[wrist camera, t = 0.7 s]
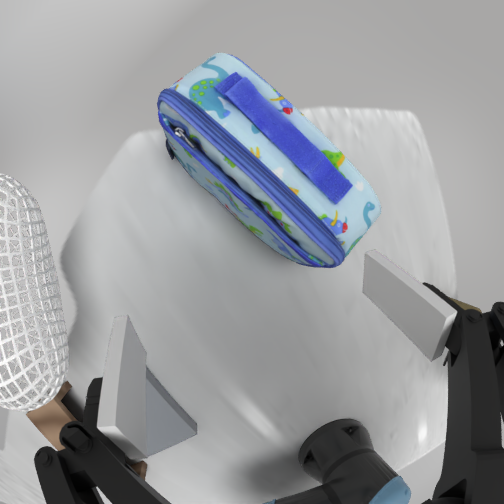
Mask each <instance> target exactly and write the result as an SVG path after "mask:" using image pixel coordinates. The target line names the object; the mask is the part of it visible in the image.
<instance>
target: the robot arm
mask: <svg viewBox="0 0 504 504" xmlns="http://www.w3.org/2000/svg"><path fill="white" fill-rule="evenodd" d="M363 293H364V294H365V295H366V296H367V297H368V298H369V299H370V300H371V301H372V302H373V303H374V304H375V305H376V306H377V307H378V308H379V309H380V310H381V311H382V312H383V313H384V314H385V315H386V316H387V317H388V318H389V319H390V320H391V321H392V322H393V323H394V324H395V325H396V326H397V327H398V328H399V329H400V330H401V331H402V332H403V333H404V334H405V335H406V336H407V337H408V338H409V339H410V340H411V341H412V342H413V343H414V344H415V345H416V346H417V347H418V348H419V349H420V351H421V352H422V353H423V354H424V355H425V356H426V357H427V358H428V359H429V360H430V361H431V362H432V361H433V360H435V359H436V358H438V357H439V356H441V355H442V353H443V350H444V348H445V346H446V347H447V348H448V349H449V351H448V353H447V356H446V358H445V361H444V363H443V366H445V365H446V362H447V361H448V417H447V432H446V443H445V452H444V460H443V468H442V474H441V477H440V480H439V481H438V483H437V485H436V487H435V490H434V494H433V498H432V500H430V499H428V500H427V501H425V502H423V503H422V504H504V448H503V447H502V441H501V440H502V439H501V437H502V436H501V415H502V419H503V422H504V345H503V347H502V346H501V344H500V342H501V340H502V341H503V343H504V302H496V303H494V305H493V307H492V309H491V311H490V312H486V313H481V312H480V311H478V310H475V309H467V310H464V309H463V308H461V307H460V306H459V305H458V304H456V303H455V302H454V301H453V300H451V299H450V298H449V297H448V296H446V295H445V294H444V293H442V292H440V290H438V289H437V288H436V287H435V286H433V285H430V284H428V283H425V282H424V283H421V282H420V281H418V280H417V279H416V278H414V277H413V276H412V275H410V274H409V273H408V272H406V271H405V270H404V269H402V268H401V267H399V266H398V265H397V264H395V263H394V262H393V261H391V260H390V259H388V258H387V257H386V256H384V255H383V254H381V253H380V252H379V251H377V250H376V249H374V250H371V251H368V252H365V261H364V279H363ZM500 412H501V413H500ZM59 440H60V443H61V445H63V446H64V447H65V449H63V450H60V451H55V450H54V449H53V448H52V447H48V446H45V447H42V448H40V449H39V450H38V451H37V453H36V454H35V458H34V462H35V467H36V471H37V475H38V478H39V482H40V485H41V488H42V491H43V494H44V497H45V500H46V503H47V504H104V502H103V500H102V499H101V497H100V495H99V493H98V491H97V489H96V487H97V486H98V488H99V489H100V490H101V491H102V492H103V494H104V495H105V496H106V497H107V498H108V499H109V500H110V502H111V503H112V504H171V503H170V502H169V501H167V500H166V499H165V498H164V497H163V496H161V495H160V494H159V493H158V492H157V491H156V490H155V489H153V488H152V487H151V486H150V485H149V484H148V483H147V482H146V481H145V480H144V479H142V478H141V477H140V476H139V475H138V474H137V473H136V472H135V471H134V470H133V469H132V468H131V467H130V466H129V465H128V464H127V463H126V462H125V454H126V455H127V456H128V457H129V458H130V459H143V458H148V456H147V437H146V351H145V349H144V347H143V345H142V343H141V341H140V339H139V337H138V335H137V333H136V331H135V329H134V327H133V325H132V323H131V321H130V318H129V316H128V315H124V316H120V317H115V318H114V322H113V327H112V332H111V337H110V342H109V347H108V352H107V357H106V363H105V369H104V375H103V377H102V378H95V379H93V380H92V382H91V384H90V386H89V387H88V392H87V399H86V406H85V410H84V417H83V423H82V422H80V421H70V422H68V423H67V424H65V425H64V426H63V427H62V429H61V431H60V433H59ZM299 461H300V464H301V465H302V467H303V469H304V471H305V472H306V473H307V474H309V475H310V476H312V477H313V478H314V479H316V480H317V481H319V482H320V483H321V484H323V485H321V486H317V487H315V488H312V489H309V490H307V491H304V492H301V493H298V494H295V495H292V496H288V497H285V498H281V499H278V500H276V499H274V500H272V501H270V502H267V503H264V504H408V502H409V500H410V497H411V491H410V488H409V487H408V486H407V485H406V483H405V482H404V481H403V479H402V477H401V476H399V475H398V474H397V473H396V472H395V471H394V470H393V469H392V468H391V467H390V466H389V465H388V464H387V463H386V462H385V461H384V460H383V459H382V458H381V457H380V456H379V455H378V454H377V453H376V452H375V451H374V448H373V445H372V442H371V439H370V436H369V433H368V431H367V429H366V428H365V427H364V426H363V425H362V424H361V423H360V422H358V421H356V420H352V419H342V420H337V421H334V422H331V423H329V424H327V425H325V426H323V427H321V428H319V429H318V430H317V431H315V432H314V433H313V434H312V435H311V436H309V438H308V439H307V440H306V441H305V442H304V444H303V445H302V447H301V449H300V452H299Z"/></svg>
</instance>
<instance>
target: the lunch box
mask: <svg viewBox="0 0 504 504" xmlns="http://www.w3.org/2000/svg"><path fill="white" fill-rule="evenodd" d="M157 106H158V110H159V111H158V115H159V122H160V123H161V125H162V127H163V130H164V132H165V135H166V137H167V140H166V147H167V150H168V153H169V155H170V157H171V159H172V160H173V159H174V155H175V156H176V158H177V159H178V160H179V162H180V163H181V165H182V166H183V167H184V168H185V170H186V171H187V172H188V173H189V174H190V175H191V176H192V178H193V179H195V180H196V181H197V182H198V183H199V184H200V185H202V186H203V187H204V188H205V189H206V190H208V191H209V192H210V193H211V194H213V195H214V196H215V197H216V198H217V199H218V200H219V201H220V202H221V203H222V204H223V205H224V206H225V207H226V208H227V209H228V210H229V211H230V212H231V213H232V214H233V215H234V216H235V217H236V218H237V219H238V220H239V221H240V222H242V223H243V224H244V225H245V226H246V227H247V228H248V229H249V230H250V231H252V232H253V233H254V234H255V235H256V236H257V237H258V238H259V239H261V240H262V241H263V242H265V243H266V244H267V245H269V246H270V247H272V248H273V249H274V250H275V251H277V252H278V253H280V254H281V255H283V256H284V257H286V258H288V259H290V260H292V261H294V262H296V263H298V264H301V265H305V266H310V267H323V268H334V267H336V266H339V265H340V264H341V263H342V262H343V261H344V258H345V257H346V256H347V255H348V254H349V253H350V251H351V250H352V249H353V247H354V246H355V245H356V244H357V242H358V241H359V240H360V239H361V238H362V237H363V235H364V234H365V233H366V232H367V230H368V229H369V228H370V226H371V225H372V224H373V223H374V222H375V221H376V219H377V218H378V217H379V215H380V214H381V205H380V202H379V200H378V198H377V196H376V194H375V192H374V190H373V189H372V187H371V186H370V185H369V183H368V182H367V181H366V179H365V178H364V177H363V176H362V175H361V174H360V173H359V171H358V170H357V169H356V168H355V167H354V166H353V165H352V163H351V162H350V161H349V160H348V159H347V158H346V157H345V156H344V155H343V154H342V153H341V152H340V150H339V149H338V148H337V147H336V146H335V145H334V144H333V143H332V142H331V141H330V140H329V139H328V138H327V137H326V136H325V135H324V134H323V133H322V132H321V131H320V130H319V129H318V128H317V127H316V126H315V125H314V124H313V123H311V122H310V121H309V120H308V119H307V118H306V117H305V116H304V115H303V114H302V113H301V112H300V111H299V110H298V109H296V108H295V107H294V106H293V105H292V104H291V103H290V102H288V101H287V100H286V99H285V98H284V97H283V96H282V95H281V94H279V93H278V92H277V91H276V90H275V89H274V88H273V87H272V86H271V85H269V84H268V83H267V82H266V81H265V80H264V79H262V78H261V77H260V76H259V75H258V74H257V73H255V72H254V71H253V70H252V69H251V68H250V67H249V66H248V65H246V64H245V63H244V62H243V61H241V60H240V59H239V58H237V57H234V56H233V55H229V54H225V53H216V54H214V55H212V56H211V57H210V58H208V59H207V60H206V61H205V62H204V63H203V64H201V65H199V66H198V67H196V68H195V69H194V70H192V71H191V72H189V73H188V74H187V75H185V76H184V77H183V78H181V79H180V80H178V81H177V82H175V83H174V84H173V85H172V86H171V87H170V88H169V89H164V90H163V91H162V92H161V93H160V95H159V98H158V102H157Z"/></svg>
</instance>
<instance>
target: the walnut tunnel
mask: <svg viewBox="0 0 504 504" xmlns="http://www.w3.org/2000/svg"><path fill="white" fill-rule="evenodd" d="M71 387H72V386H71V385H70V384H69V382H68V381H67V382H65V383H63V384H62V386H61V388H60V390H59V392H58V393H57V395H56V396H55V397H54V398H53V399H52V400H51V401H50V402H48V403H47V404H45V405H43V406H41V407H40V408H38V409H35V410H31V411H29V412H28V413H27V414H26V415H27V417H28V418H29V419H30V420H31V421H32V423H33V424H34V425H35V426H36V427H37V428H38V430H39V431H40V432H41V433H42V434H43V435H44V436H45V437H46V438H47V439H48V441H49V442H50V443H51V444H52V445H53V446H54V447H55V448H56V449H57V450H58V451H60V450H63V449H65V447H64V446H63V445H61V443H60V440H59V433H60V431H61V429H62V427H63V426H64V425H65V424H67V423H68V422H70V421H77V420H76V418H75V417H74V416H73V415H72V414H71V413H70V412H69V410H68V409H67V408H66V407H65V406H64V405H63V403H62V402H61V400H62V399H63V397H64V396H65V395H66V393H67V392H68V391H69V390H70V388H71ZM49 393H50V392H49ZM49 393H48V394H49ZM45 399H46V398H45ZM45 399H44V400H45ZM40 400H41V399H39V401H38V402H40ZM130 467H131V468H132V469H133V470H134V471H135V472H136V473H137V474H138V475H139V476H140V477H141V478H142V479H144V480H145V476H146V469H147V464H146V463H145V462H144V461H141V462H139V463H136V464H134V465H131V466H130Z"/></svg>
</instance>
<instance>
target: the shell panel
mask: <svg viewBox="0 0 504 504" xmlns="http://www.w3.org/2000/svg"><path fill="white" fill-rule="evenodd" d="M86 399H87V396H86ZM196 434H197V424H196V423H195V422H194V421H193V420H192V419H191V417H190V416H189V415H188V414H187V413H186V412H185V411H184V410H183V409H182V408H181V407H180V406H179V405H178V403H177V402H176V401H175V400H174V399H173V398H172V397H171V396H170V394H169V393H168V392H167V391H166V390H165V389H164V387H163V386H162V385H161V384H160V383H159V381H158V380H157V379H156V378H155V377H154V375H153V374H152V373H151V372H150V370H149V369H148V368H147V367H146V437H147V456H151V455H153V454H155V453H158V452H160V451H162V450H165V449H167V448H169V447H171V446H173V445H175V444H178V443H180V442H182V441H184V440H186V439H188V438H190V437H192V436H194V435H196Z"/></svg>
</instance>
